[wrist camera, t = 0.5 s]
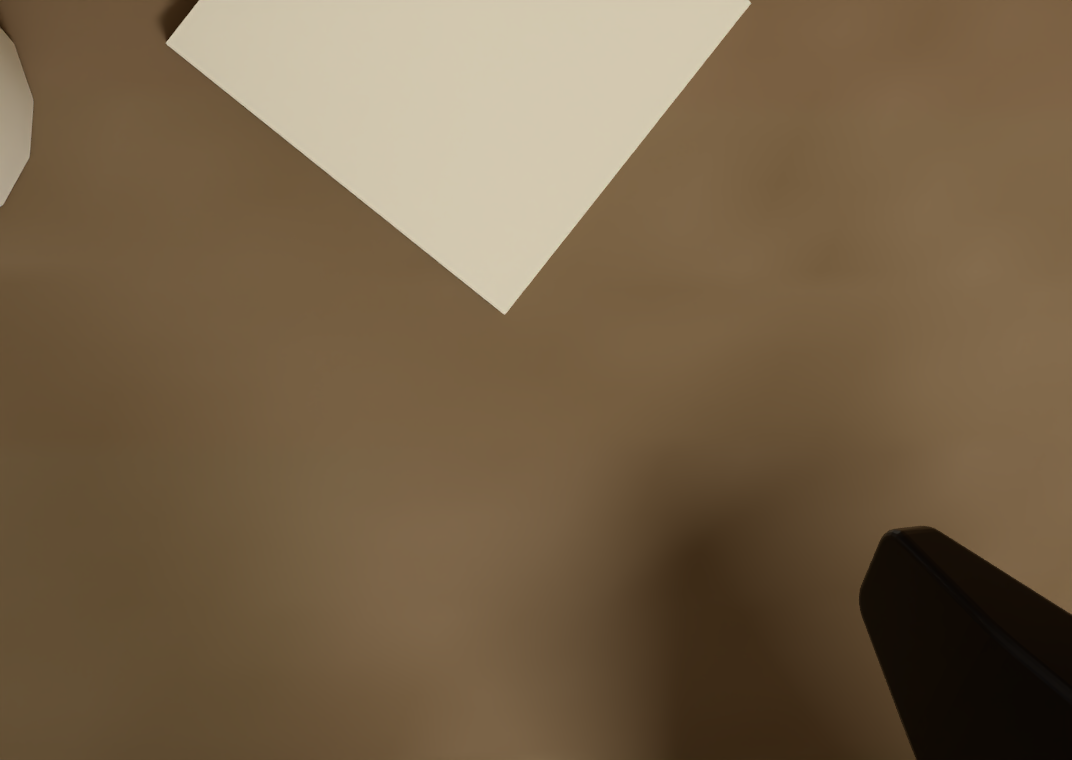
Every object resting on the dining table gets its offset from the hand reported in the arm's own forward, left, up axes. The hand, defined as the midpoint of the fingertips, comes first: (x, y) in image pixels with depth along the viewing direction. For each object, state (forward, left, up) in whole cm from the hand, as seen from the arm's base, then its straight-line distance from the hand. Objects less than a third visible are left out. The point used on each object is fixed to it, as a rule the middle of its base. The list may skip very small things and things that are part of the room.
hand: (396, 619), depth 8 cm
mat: (+7, +2, -15) cm, 17 cm away
